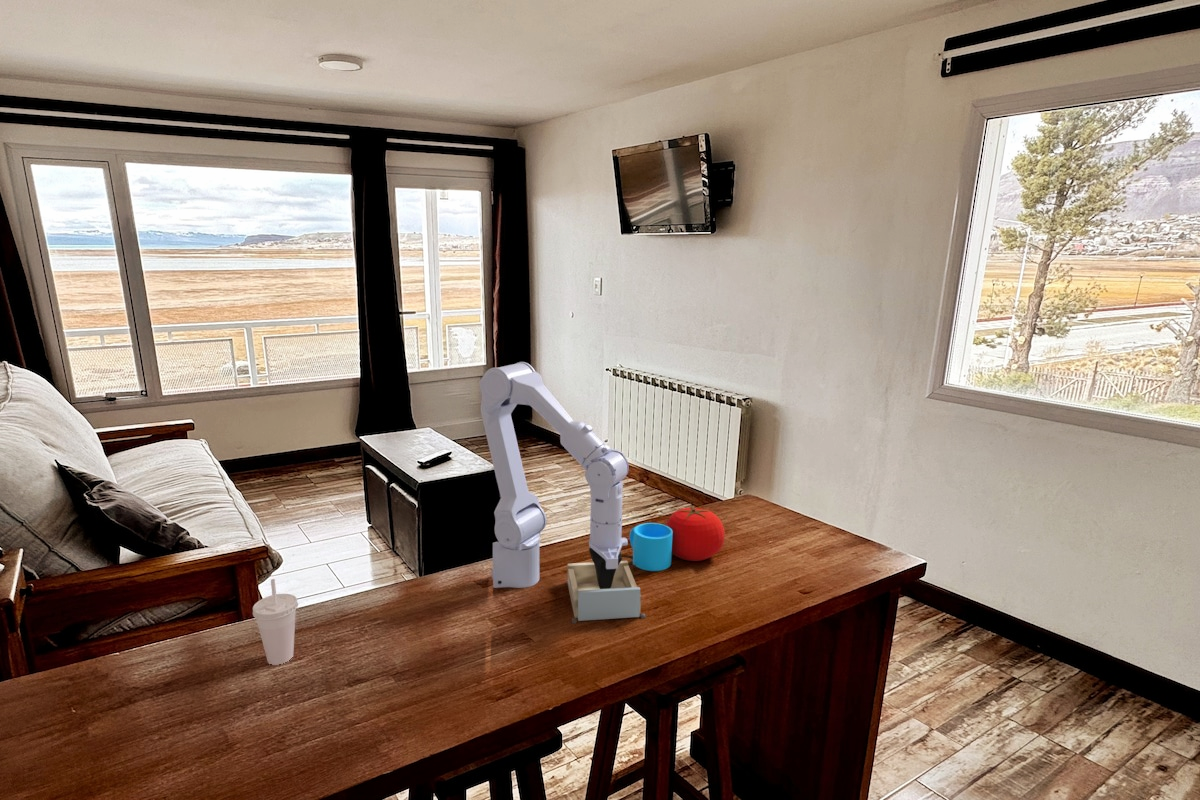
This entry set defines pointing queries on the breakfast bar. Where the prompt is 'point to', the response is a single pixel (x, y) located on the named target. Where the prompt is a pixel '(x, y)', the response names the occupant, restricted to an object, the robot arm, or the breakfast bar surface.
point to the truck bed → (595, 581)
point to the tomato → (695, 533)
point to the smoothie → (277, 625)
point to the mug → (651, 546)
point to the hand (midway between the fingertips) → (604, 586)
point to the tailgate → (608, 603)
